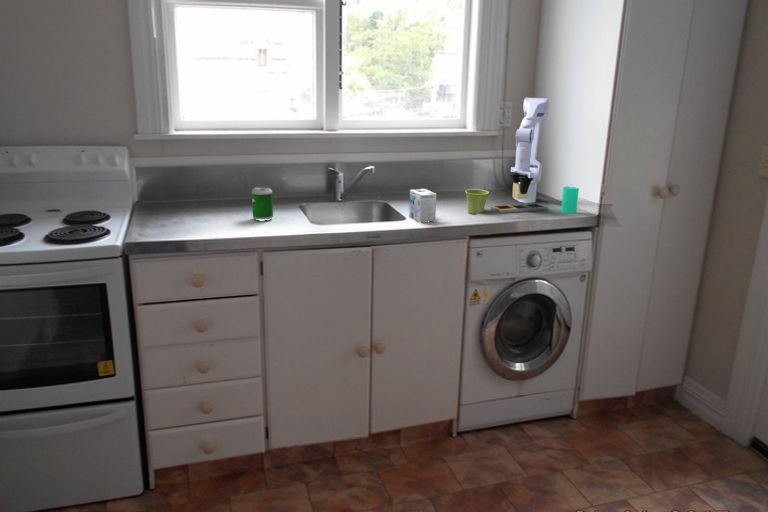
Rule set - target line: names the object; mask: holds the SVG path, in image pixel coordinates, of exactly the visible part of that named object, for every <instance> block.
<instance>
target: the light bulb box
mask: <svg viewBox="0 0 768 512" xmlns="http://www.w3.org/2000/svg"><path fill="white" fill-rule="evenodd" d="M408 203H409V204H408V205H409V208H408V209H409V210H408V216H409V217H410V218H411V219H413V220H414V221H416V222H418V223H419V222H423V223H429V222H428V221H435V222H436V216H437V215H436V211H437V210H436V209H437V193H436V192H432V191H431V190H428V189H427V188H417V189H409V202H408Z"/></svg>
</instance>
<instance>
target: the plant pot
mask: <svg viewBox="0 0 768 512" xmlns="http://www.w3.org/2000/svg"><path fill="white" fill-rule="evenodd" d="M464 192H465V193H466V194H465V195H466V201H467V213H469V214H471V215H477V214H478V213H479V214H481V213H483V212H484V211H485V208H486V207H485V206H486V202H487V199H488V195H489V194H490V193H489V192H490V191H488V190H484V189H477V188H475V189H474V188H473V189H472V188H471V189H466V190H464Z"/></svg>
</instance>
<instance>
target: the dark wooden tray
mask: <svg viewBox="0 0 768 512" xmlns="http://www.w3.org/2000/svg"><path fill="white" fill-rule="evenodd" d="M548 209H549V208H548V206H545V204H544V205H543V204H540V203H524V204H501V205H491V207H490V210H491V211H493V212H495V213H497V214H512V213H524V212H525V213H526V212H527V213H528V212H540V211H548Z"/></svg>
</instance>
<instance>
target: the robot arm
mask: <svg viewBox="0 0 768 512" xmlns="http://www.w3.org/2000/svg"><path fill="white" fill-rule="evenodd" d="M549 107H550V99H549V98H548V97H546V98H543V97H529V96H528V97H526V96H525V98H524V99H523V109H522V110H523V115H524V117H523V118H522V121H521V123H520V126H519V128H517V129H516V132H515V147H516V151H515V164H514V166H511V167H510V172H511V173H510V178H511V180H512V183H515V182H520V183H521V194H527V191H528V199H519V200H518V199H515V198H513V199H514V200H517V201H518V202H520V203H524V204H535V203H536V201H537V199H536V198H537V187H538V186H537V185H538V183H540V182H541V180H542V173H543V172H542V169H543V166H542V164H541V162H540V161H539V160H537V158H538V157H537V155H538V149H539V147H538V146H539V141H540V133H541V127H542V123H543V121H545V120H547V118H548V114H549ZM528 188H529V190H528Z"/></svg>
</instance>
